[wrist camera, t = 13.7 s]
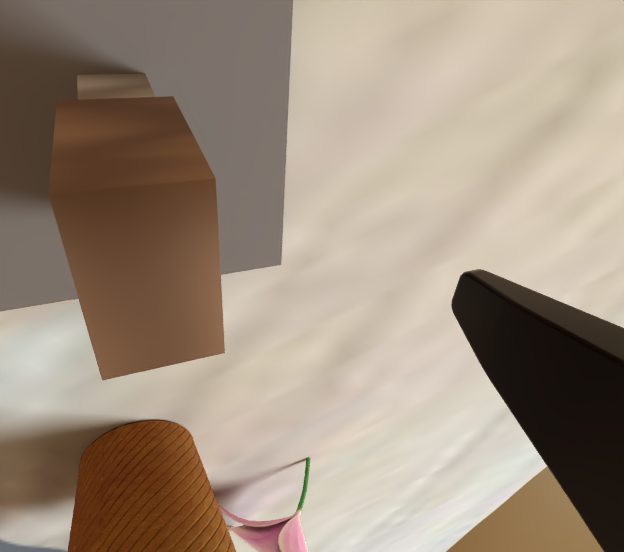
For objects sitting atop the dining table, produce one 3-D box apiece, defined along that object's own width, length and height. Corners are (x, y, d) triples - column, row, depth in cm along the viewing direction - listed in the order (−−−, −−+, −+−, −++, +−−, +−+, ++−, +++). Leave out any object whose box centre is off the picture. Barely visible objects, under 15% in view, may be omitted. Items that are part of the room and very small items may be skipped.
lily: (212, 421, 30) (174, 603, 24) (389, 444, 31) (393, 623, 25) (212, 467, 40) (185, 605, 34) (347, 484, 41) (343, 620, 35)
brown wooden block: (161, 73, 15) (215, 178, 9) (176, 209, 18) (224, 352, 12) (59, 75, 14) (48, 194, 8) (92, 218, 17) (102, 380, 11)
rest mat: (284, -50, 15) (295, -48, 15) (274, 253, 22) (281, 264, 22) (-188, -86, 11) (-205, -85, 10) (-16, 298, 18) (-20, 314, 18)
